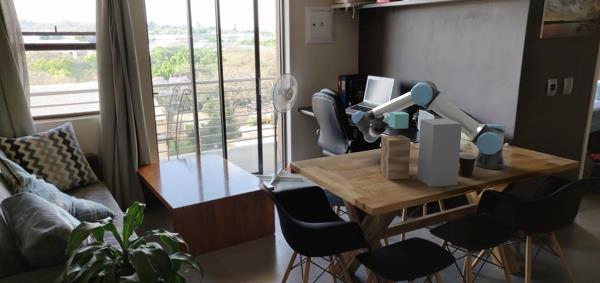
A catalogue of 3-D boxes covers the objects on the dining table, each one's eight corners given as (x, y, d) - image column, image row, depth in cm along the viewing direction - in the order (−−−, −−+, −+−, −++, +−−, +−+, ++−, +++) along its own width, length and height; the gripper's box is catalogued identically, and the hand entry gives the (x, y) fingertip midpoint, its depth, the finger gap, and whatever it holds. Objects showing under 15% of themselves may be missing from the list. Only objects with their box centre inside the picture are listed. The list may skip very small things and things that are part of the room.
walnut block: (380, 173, 234) (381, 135, 229) (400, 171, 236) (401, 134, 231) (387, 179, 223) (389, 140, 219) (408, 178, 225) (410, 139, 221)
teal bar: (379, 120, 237) (380, 107, 235) (392, 120, 238) (392, 107, 236) (394, 128, 216) (395, 114, 215) (408, 128, 218) (408, 114, 216)
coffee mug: (472, 178, 223) (474, 159, 221) (454, 176, 228) (456, 157, 226) (477, 173, 233) (478, 154, 231) (460, 170, 237) (461, 152, 235)
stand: (417, 178, 225) (420, 119, 219) (443, 176, 228) (447, 118, 221) (429, 186, 212) (433, 124, 205) (457, 185, 214) (461, 123, 207)
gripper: (392, 134, 251) (408, 120, 229) (363, 135, 248) (376, 121, 226) (391, 122, 253) (406, 107, 231) (362, 123, 250) (374, 107, 228)
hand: (391, 114), depth 229 cm, fingers closed on teal bar, 4 cm apart
